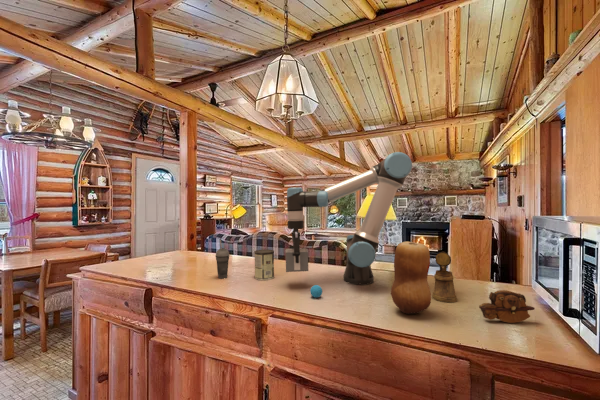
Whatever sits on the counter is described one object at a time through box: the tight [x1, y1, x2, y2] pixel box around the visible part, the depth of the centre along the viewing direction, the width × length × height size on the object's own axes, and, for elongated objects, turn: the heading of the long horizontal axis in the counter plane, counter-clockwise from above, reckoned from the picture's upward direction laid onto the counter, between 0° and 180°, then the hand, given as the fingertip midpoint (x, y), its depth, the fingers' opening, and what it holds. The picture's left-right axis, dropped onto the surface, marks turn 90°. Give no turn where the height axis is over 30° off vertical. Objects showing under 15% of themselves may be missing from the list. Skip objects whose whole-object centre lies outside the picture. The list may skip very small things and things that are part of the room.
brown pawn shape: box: [431, 251, 458, 303], centre depth 118 cm, size 9×14×18 cm, turn 155°
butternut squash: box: [390, 240, 432, 315], centre depth 102 cm, size 14×13×25 cm
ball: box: [310, 284, 323, 299], centre depth 118 cm, size 5×5×5 cm
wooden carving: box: [478, 289, 536, 324], centre depth 93 cm, size 16×5×10 cm, turn 90°
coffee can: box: [253, 249, 275, 281], centre depth 150 cm, size 10×10×14 cm
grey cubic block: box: [284, 247, 309, 273], centre depth 134 cm, size 10×10×9 cm
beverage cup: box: [215, 239, 231, 280], centre depth 150 cm, size 7×7×20 cm
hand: (296, 267), depth 134 cm, fingers closed on grey cubic block, 10 cm apart
